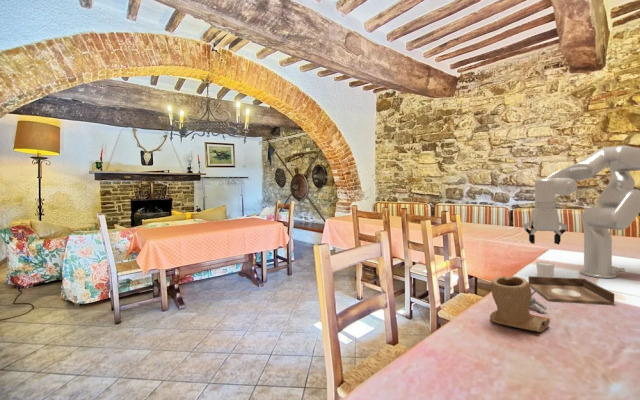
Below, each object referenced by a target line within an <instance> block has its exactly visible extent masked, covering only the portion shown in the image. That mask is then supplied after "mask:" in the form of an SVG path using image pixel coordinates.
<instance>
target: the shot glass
mask: <svg viewBox="0 0 640 400" xmlns="http://www.w3.org/2000/svg"><path fill="white" fill-rule="evenodd" d="M535 264H536V266H535V267H536V273H537V277H555V276H554V275H555V266H556V265H555V263H553V262H548V261H537V262H535Z"/></svg>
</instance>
